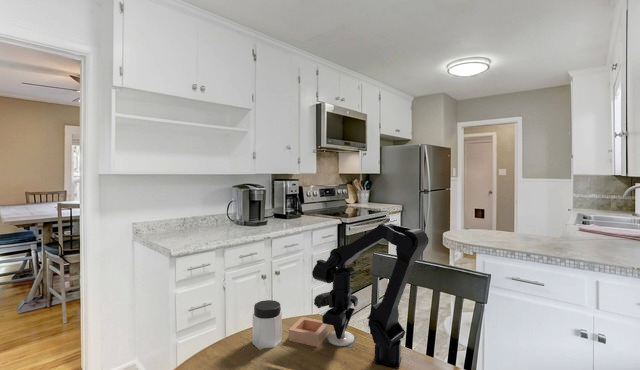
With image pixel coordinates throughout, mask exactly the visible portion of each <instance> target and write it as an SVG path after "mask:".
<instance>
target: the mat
mask: <svg viewBox="0 0 640 370" xmlns="http://www.w3.org/2000/svg"><path fill="white" fill-rule="evenodd" d="M353 336H354V342H353V343H352V344H351V345H348V346H344V347H347V348H353V346H354V344H355V342H356V341H357V339H358V336H355V335H353ZM323 342H324V343H327V344H328V343H329V344H331V343H330V342H329V341H328V336H326V337H325V339H324V340H323Z"/></svg>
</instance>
